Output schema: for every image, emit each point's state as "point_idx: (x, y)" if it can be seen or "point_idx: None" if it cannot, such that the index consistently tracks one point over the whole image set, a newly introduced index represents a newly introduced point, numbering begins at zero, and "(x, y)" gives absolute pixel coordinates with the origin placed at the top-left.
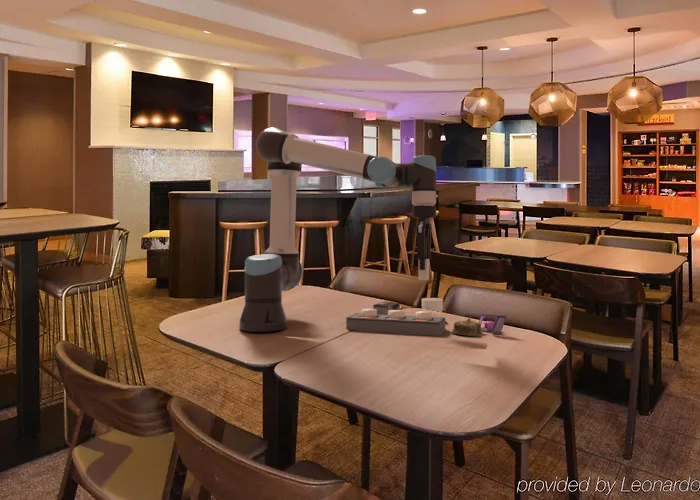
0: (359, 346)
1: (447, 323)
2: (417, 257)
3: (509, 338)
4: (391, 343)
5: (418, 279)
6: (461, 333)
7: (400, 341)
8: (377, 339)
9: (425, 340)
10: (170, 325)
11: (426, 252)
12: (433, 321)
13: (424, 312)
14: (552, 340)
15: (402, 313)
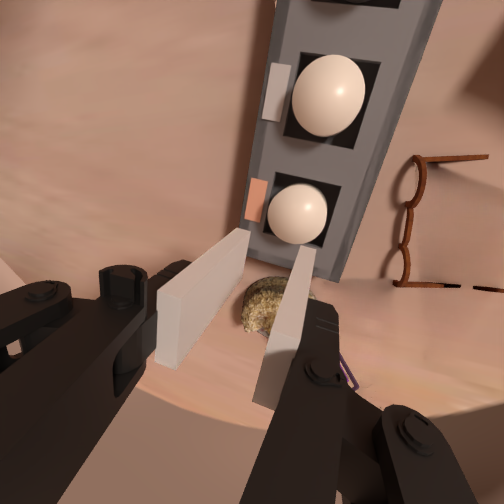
0: (74, 33)
1: (397, 286)
2: (102, 288)
3: (239, 369)
4: (129, 117)
5: (233, 230)
6: (248, 292)
7: (157, 139)
8: (166, 68)
9: (183, 202)
10: None
11: (99, 426)
12: (252, 238)
13: (288, 219)
14: (233, 422)
15: (308, 131)
